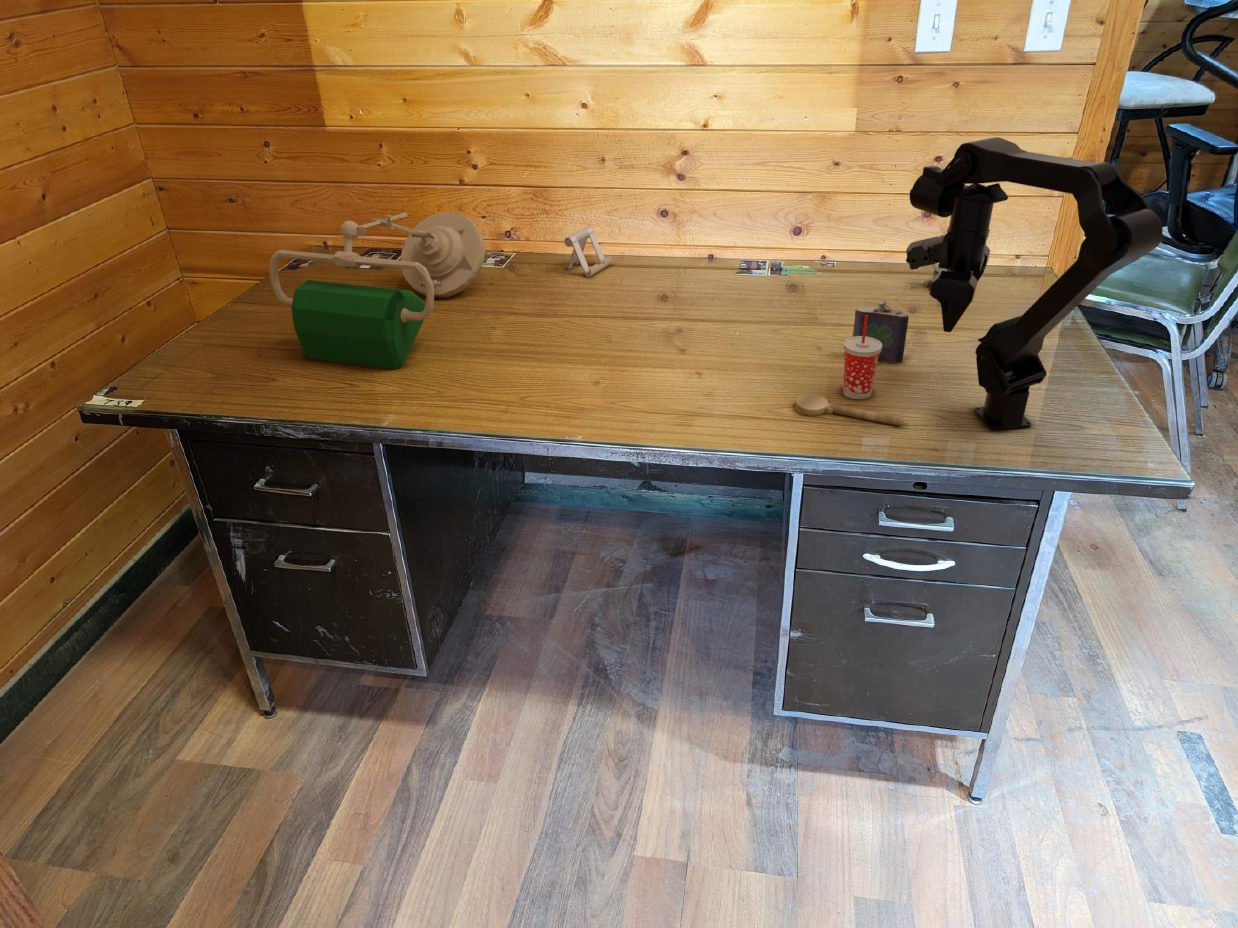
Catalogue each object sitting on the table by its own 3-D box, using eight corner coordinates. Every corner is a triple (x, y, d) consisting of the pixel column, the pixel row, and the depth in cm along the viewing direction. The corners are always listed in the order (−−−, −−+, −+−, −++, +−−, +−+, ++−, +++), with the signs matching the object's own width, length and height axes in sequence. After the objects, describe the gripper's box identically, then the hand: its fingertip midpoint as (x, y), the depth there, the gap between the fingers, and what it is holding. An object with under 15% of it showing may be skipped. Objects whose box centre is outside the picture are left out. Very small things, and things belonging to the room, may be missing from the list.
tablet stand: (591, 278, 199) (589, 241, 194) (562, 272, 202) (559, 236, 198) (612, 265, 205) (610, 229, 200) (583, 260, 209) (581, 224, 204)
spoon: (905, 418, 143) (906, 410, 142) (898, 433, 139) (899, 425, 138) (800, 398, 150) (801, 390, 149) (791, 412, 146) (791, 404, 145)
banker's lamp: (349, 393, 198) (232, 333, 161) (393, 218, 204) (291, 123, 168) (491, 413, 188) (401, 354, 151) (533, 229, 194) (456, 130, 158)
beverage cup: (863, 405, 147) (873, 326, 139) (831, 393, 150) (839, 316, 143) (882, 391, 150) (893, 314, 143) (850, 380, 154) (859, 304, 146)
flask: (848, 356, 162) (855, 300, 156) (852, 349, 164) (859, 294, 158) (901, 364, 158) (910, 308, 153) (904, 357, 161) (912, 301, 155)
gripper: (926, 202, 146) (912, 292, 155) (902, 238, 132) (888, 335, 141) (998, 209, 142) (980, 302, 150) (982, 247, 128) (963, 347, 136)
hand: (952, 320), depth 145 cm, fingers open, 9 cm apart
